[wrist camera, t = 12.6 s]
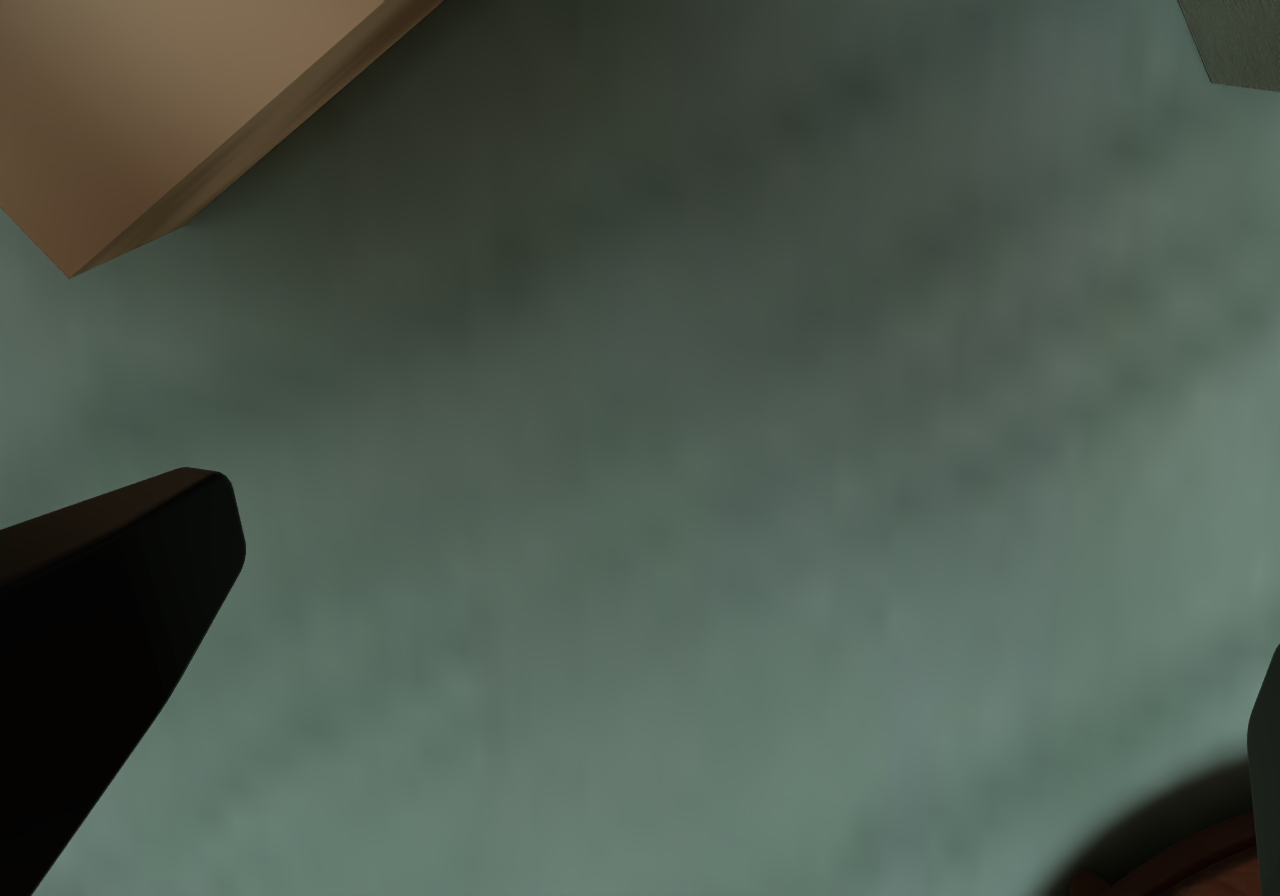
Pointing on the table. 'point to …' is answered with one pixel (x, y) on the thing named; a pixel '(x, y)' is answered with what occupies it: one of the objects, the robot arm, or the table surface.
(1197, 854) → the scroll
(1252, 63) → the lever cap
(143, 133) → the hand plane
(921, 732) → the table surface
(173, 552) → the robot arm
